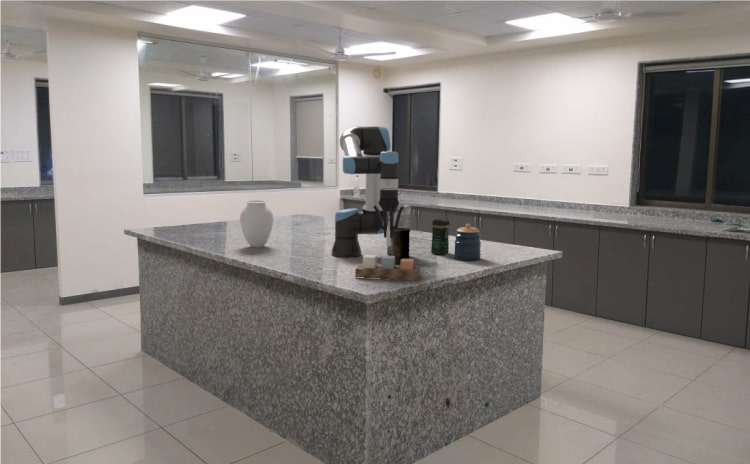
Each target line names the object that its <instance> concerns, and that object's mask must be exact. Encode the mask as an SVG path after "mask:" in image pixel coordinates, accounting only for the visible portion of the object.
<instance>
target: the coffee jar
mask: <svg viewBox="0 0 750 464" xmlns="http://www.w3.org/2000/svg"><path fill="white" fill-rule="evenodd" d="M431 231H432V233H431V235H432V237H431V249H430V252H431V254H433V255H446V254H449V252H450V251H449V248H450V247H449V245H450V244H449V238H450V237H449V236H450V235H449V234H450V233H449V231H450V219H448V218H446V217H438V218H434V219H433V220H432V222H431Z"/></svg>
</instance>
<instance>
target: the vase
mask: <svg viewBox="0 0 750 464" xmlns="http://www.w3.org/2000/svg"><path fill="white" fill-rule="evenodd" d="M266 203H267V201H265V200H248V201H246V204H247V205H246V206H245V207H244V208H243V209H242V211H241V213H240V216H239V224H240V226H241V230H242V231H241V232H242V234H243V236H244V238H245V241H246V242H247V244H248V245H249V247H251V246H252V247H261V246H264V247H265V245H266V244H267V242H268V240H269V238H270V235H271V233H272V229H273V226H274V225H273V224H274V216H273V212H272V210H271V209H270V208H269V207H268V206H267V205H266ZM252 247H251V248H252ZM261 248H262V247H261Z"/></svg>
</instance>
